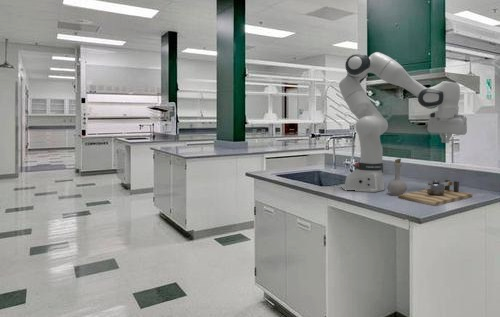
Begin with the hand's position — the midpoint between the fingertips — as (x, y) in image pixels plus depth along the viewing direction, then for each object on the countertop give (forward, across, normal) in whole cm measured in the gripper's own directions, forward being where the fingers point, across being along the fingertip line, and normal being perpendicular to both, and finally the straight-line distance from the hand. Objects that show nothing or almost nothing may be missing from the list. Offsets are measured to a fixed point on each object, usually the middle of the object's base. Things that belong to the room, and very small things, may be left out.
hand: (445, 142), depth 175 cm
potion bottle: (+26, +5, +23) cm, 35 cm away
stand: (+25, -7, +11) cm, 28 cm away
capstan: (+23, -7, +9) cm, 26 cm away
